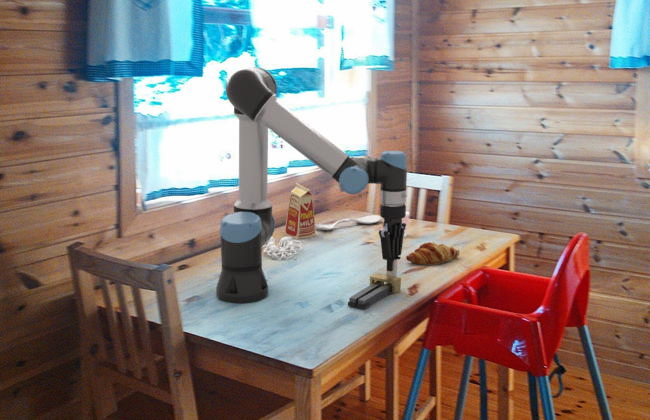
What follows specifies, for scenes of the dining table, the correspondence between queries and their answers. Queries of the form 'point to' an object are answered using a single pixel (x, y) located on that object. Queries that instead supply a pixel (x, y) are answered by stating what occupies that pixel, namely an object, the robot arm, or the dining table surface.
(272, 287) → the dining table surface
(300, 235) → the milk carton
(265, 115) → the robot arm
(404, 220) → the beverage cup
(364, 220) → the white long curved piece
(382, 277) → the tan block
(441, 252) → the croissant
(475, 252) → the dining table surface
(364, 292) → the tongs arm
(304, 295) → the dining table surface
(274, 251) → the tangled rod sculpture
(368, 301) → the tongs fixed arm
